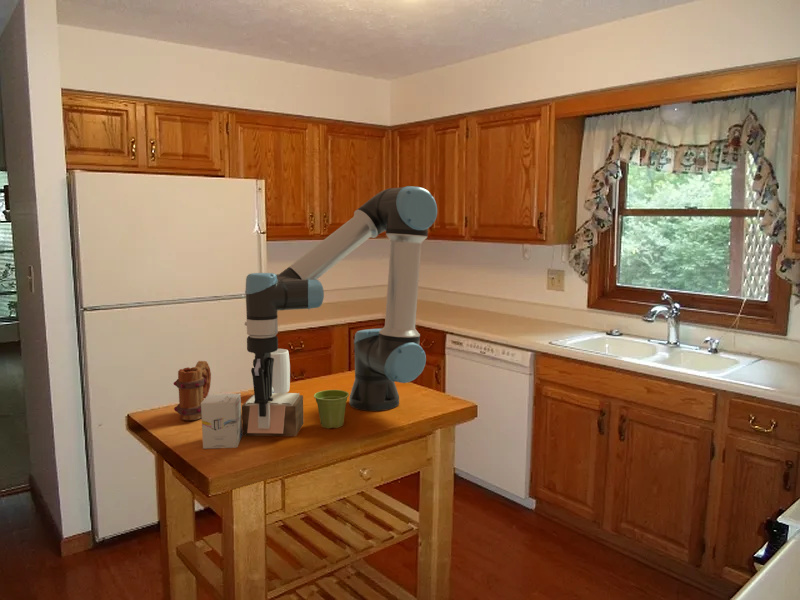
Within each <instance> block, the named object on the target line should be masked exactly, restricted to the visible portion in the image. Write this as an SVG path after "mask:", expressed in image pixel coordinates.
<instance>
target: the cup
mask: <svg viewBox="0 0 800 600" xmlns="http://www.w3.org/2000/svg"><path fill="white" fill-rule="evenodd" d="M271 357H272V358H274V363H273V378H272V387H273V389H274V393H290V392H289V391H290V387H291V386H290V385H291V383H290V382H291V363H290V354H289V350H288V349H285V348H278V350H277V351H275V352H271Z"/></svg>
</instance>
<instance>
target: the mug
mask: <svg viewBox="0 0 800 600" xmlns="http://www.w3.org/2000/svg"><path fill="white" fill-rule="evenodd" d="M211 380H212V373H211V369H210V366H209V363H208V361H205V360H198V361H197V362H196V364H195V366H192V367H189V366H188V367H183V368H181V369H179V370H178V371H177V379H176V380H175V381H174V382H173V386H175V387H176V388H178V403H177V405H176V406H175V407H174V408H173V409H174V411H175V412H176V413H177V414H178V415H179V418H180V419H181V420H183V421H197V420H200V419H202V413H201V403H202V401H203V400H204V399H205V398H206V397H207V396H208V395H209V392H210V388H211Z"/></svg>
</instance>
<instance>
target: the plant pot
mask: <svg viewBox="0 0 800 600" xmlns="http://www.w3.org/2000/svg"><path fill="white" fill-rule="evenodd" d="M349 397H350V393H349V392H348V391H345V390H342V389H326V390H320V391H318V392H316V393H314V395H313V398H314V399H315V402H316V404H317V409H318V410H317V411H318V416H319V420H320V422H319V423H320V426H321V428H324V429H332V428H335V429H339V428H340V427H343V425H344V423H345V422H344V421H345V413H346V405H347V401H348V398H349Z"/></svg>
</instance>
